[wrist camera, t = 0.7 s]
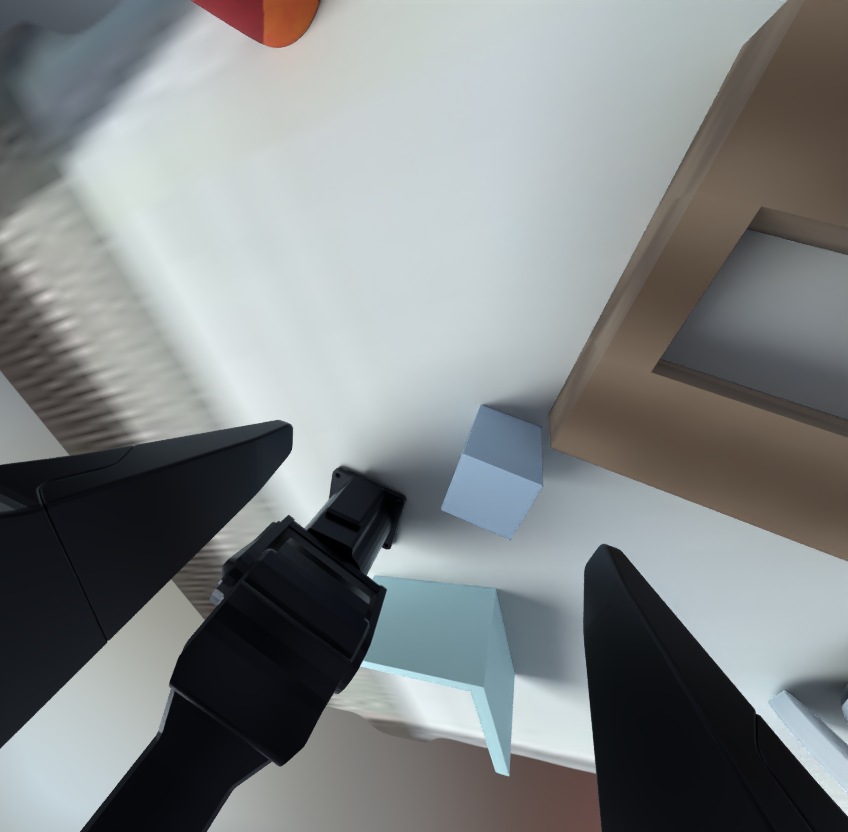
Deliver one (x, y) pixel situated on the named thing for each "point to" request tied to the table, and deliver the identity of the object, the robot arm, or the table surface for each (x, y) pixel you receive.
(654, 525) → the table surface
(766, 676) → the table surface
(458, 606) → the right angle wall
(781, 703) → the spread jar
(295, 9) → the paper cup
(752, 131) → the well block
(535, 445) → the solid blue gray block
